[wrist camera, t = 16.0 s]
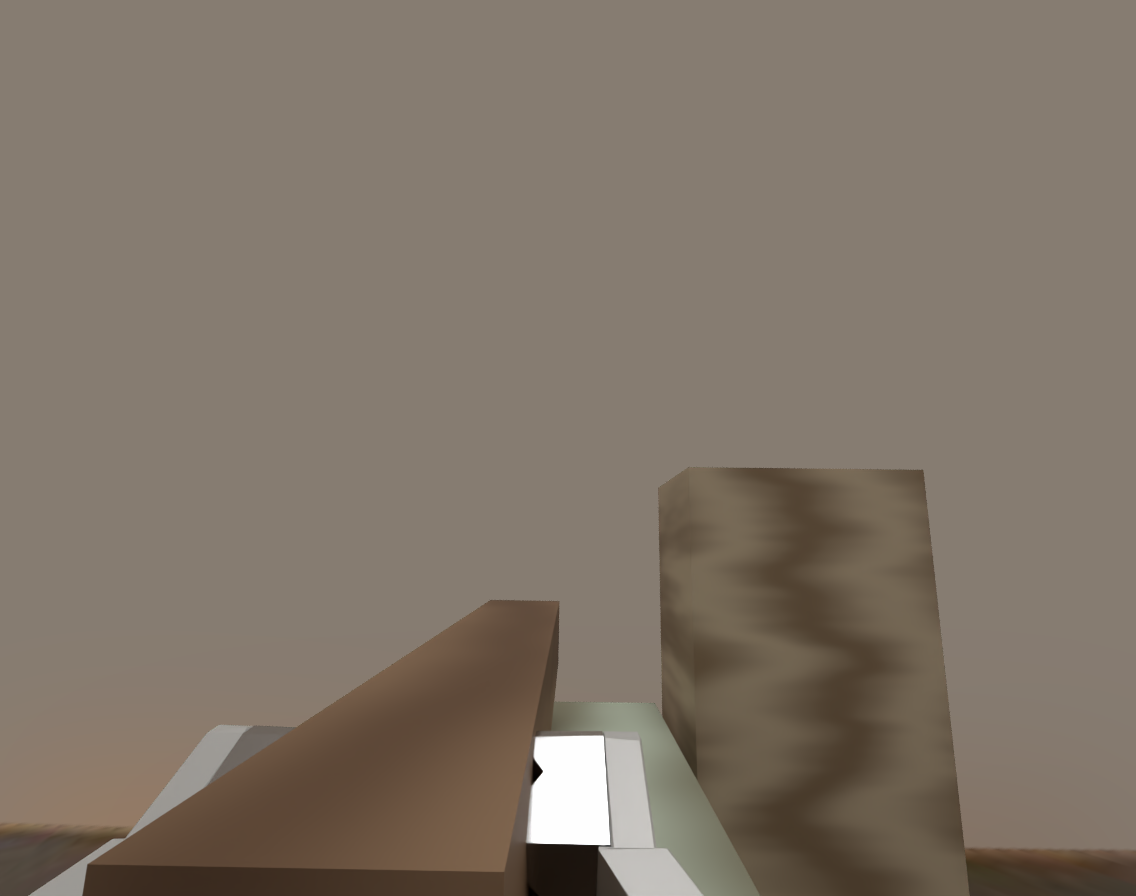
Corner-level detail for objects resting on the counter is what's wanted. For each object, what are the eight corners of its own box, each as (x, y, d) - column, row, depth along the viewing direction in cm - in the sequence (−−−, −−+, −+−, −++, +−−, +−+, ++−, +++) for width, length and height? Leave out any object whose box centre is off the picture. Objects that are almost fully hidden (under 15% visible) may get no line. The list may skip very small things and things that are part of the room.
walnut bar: (18, 1307, 3) (86, 864, 4) (488, 660, 23) (490, 600, 24) (490, 1319, 3) (503, 873, 4) (558, 661, 23) (559, 601, 24)
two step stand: (-16, 2170, 8) (222, 389, 12) (400, 1017, 26) (431, 485, 31) (1637, 2218, 7) (1236, 400, 12) (874, 1025, 26) (833, 489, 31)
